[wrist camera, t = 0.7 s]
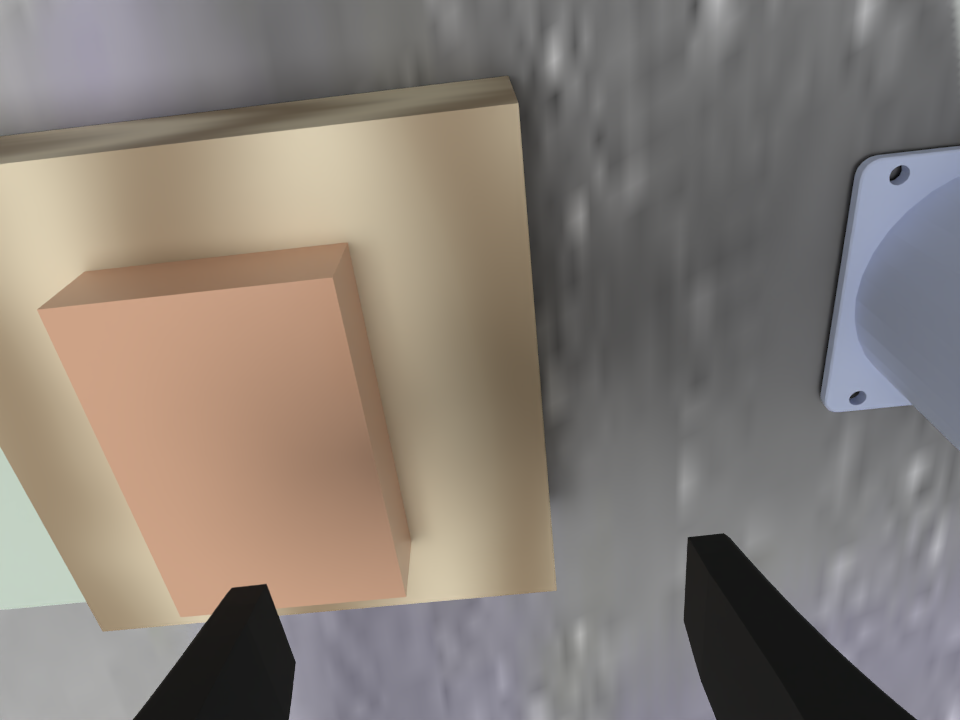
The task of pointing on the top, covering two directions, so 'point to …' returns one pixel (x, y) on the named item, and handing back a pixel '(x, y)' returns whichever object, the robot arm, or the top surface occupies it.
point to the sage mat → (28, 552)
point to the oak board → (383, 295)
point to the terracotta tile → (242, 423)
